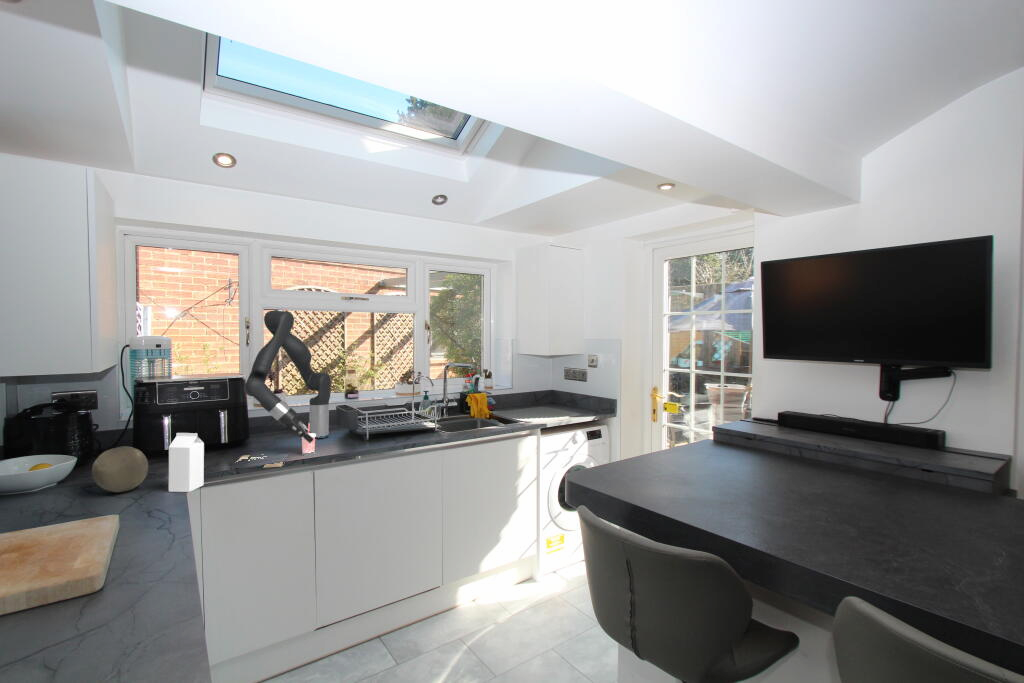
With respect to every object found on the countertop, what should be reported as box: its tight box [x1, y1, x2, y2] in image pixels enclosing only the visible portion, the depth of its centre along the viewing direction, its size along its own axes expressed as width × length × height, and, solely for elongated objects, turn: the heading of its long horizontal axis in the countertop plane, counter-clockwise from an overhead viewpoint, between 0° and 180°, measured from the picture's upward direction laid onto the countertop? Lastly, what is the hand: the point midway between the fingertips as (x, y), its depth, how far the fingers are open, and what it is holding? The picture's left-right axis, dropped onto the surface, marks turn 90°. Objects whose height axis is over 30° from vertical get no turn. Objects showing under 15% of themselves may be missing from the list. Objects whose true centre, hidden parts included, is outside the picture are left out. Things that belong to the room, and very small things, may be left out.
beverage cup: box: [301, 422, 316, 454], centre depth 208 cm, size 6×6×14 cm
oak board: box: [236, 454, 284, 468], centre depth 196 cm, size 18×18×1 cm
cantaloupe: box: [91, 445, 149, 493], centre depth 156 cm, size 14×14×15 cm
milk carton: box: [168, 432, 205, 493], centre depth 161 cm, size 7×7×19 cm
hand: (312, 439), depth 209 cm, fingers closed on beverage cup, 6 cm apart
